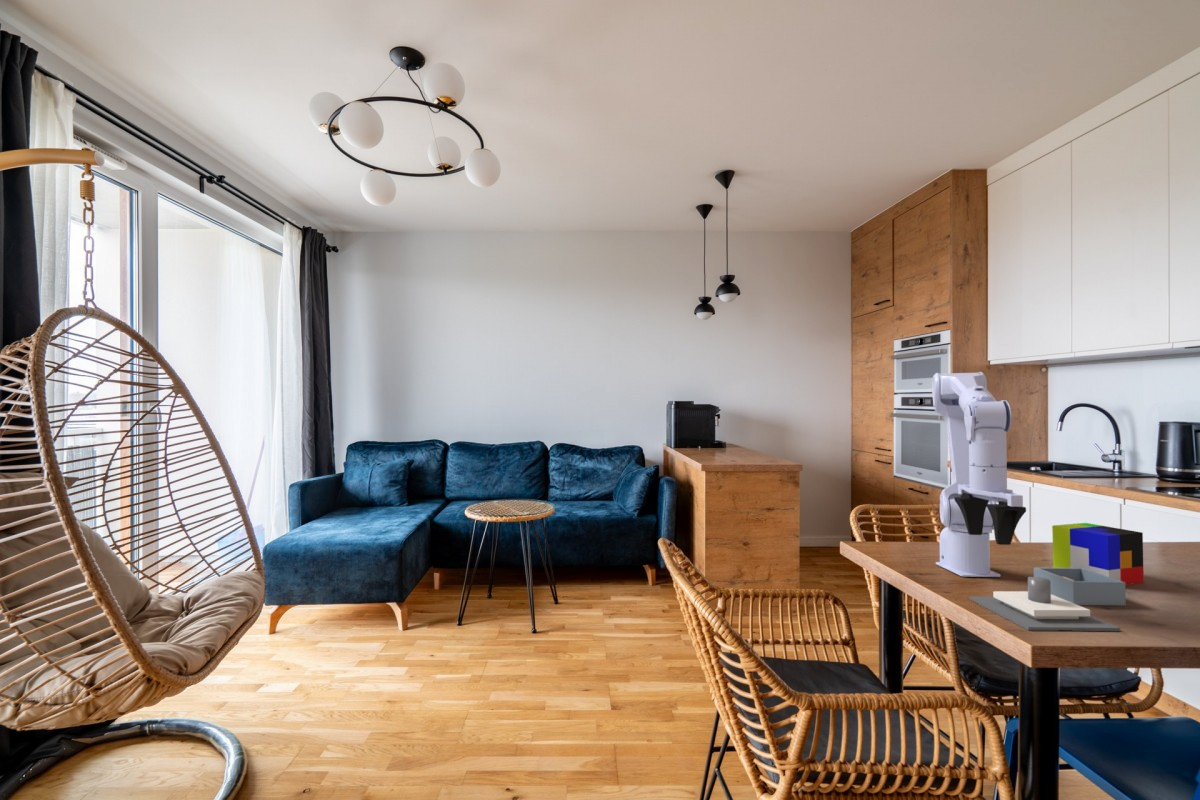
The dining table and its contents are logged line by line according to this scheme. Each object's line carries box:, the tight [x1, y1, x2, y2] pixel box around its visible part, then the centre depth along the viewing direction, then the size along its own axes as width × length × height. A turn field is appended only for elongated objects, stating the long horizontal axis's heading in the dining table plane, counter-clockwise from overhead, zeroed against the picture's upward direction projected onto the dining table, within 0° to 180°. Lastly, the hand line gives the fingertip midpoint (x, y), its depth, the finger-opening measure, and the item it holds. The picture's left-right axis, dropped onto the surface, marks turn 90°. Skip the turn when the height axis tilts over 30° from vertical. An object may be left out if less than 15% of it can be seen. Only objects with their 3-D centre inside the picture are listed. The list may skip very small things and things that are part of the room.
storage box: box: [1033, 567, 1127, 606], centre depth 100 cm, size 9×9×4 cm
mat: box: [968, 596, 1121, 632], centre depth 91 cm, size 14×14×1 cm
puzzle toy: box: [1051, 522, 1145, 586], centre depth 112 cm, size 10×10×10 cm
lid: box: [992, 576, 1091, 619], centre depth 91 cm, size 9×9×5 cm
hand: (988, 539), depth 101 cm, fingers open, 7 cm apart
